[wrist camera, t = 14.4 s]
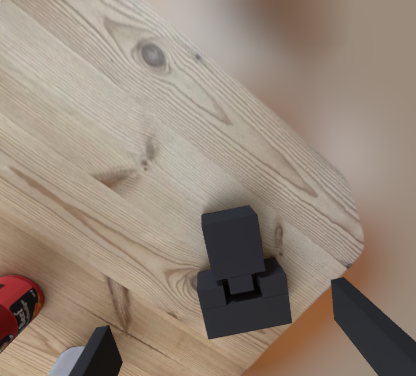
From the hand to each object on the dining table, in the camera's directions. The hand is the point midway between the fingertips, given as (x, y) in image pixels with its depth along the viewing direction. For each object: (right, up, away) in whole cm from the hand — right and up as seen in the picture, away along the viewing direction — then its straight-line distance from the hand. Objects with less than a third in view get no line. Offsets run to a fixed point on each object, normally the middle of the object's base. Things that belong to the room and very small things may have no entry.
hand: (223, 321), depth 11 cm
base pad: (+4, -8, +19) cm, 21 cm away
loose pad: (+3, 0, +18) cm, 18 cm away
